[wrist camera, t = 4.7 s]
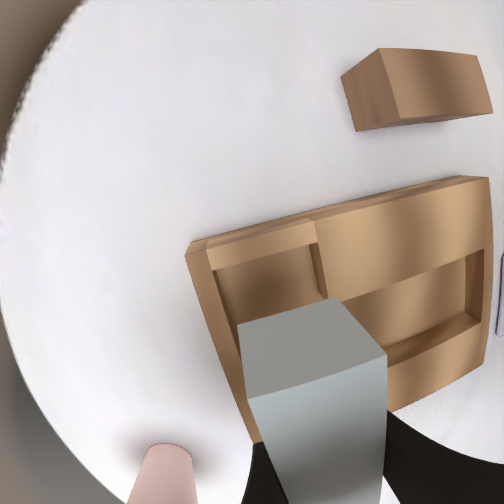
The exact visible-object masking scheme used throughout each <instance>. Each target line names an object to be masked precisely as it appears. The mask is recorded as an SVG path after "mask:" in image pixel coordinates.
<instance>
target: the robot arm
mask: <svg viewBox="0 0 504 504" xmlns="http://www.w3.org/2000/svg"><path fill="white" fill-rule="evenodd" d="M503 335H504V257H503V266H502V287H501V300H500V310H499V319H498V326H497V336H499V337H501V336H503ZM383 476H384V477H385V479H386V481H387V482H388V484H389V485H390V487H391V489H392V490H393V492H394V494H395V495H396V497H397V498H398V500H399V502H400V504H504V464H498V463H492V462H488V461H484V460H480V459H477V458H473V457H470V456H467V455H464V454H461V453H459V452H456V451H454V450H451V449H449V448H447V447H445V446H443V445H441V444H439V443H437V442H435V441H433V440H431V439H429V438H428V437H426V436H424V435H423V434H421V433H419V432H418V431H416V430H415V429H413V428H412V427H410V426H409V425H407V424H406V423H404V422H403V421H402V420H400V419H399V418H397V417H396V416H395V415H394V414H392V413H391V412H390V411H388V410H387V424H386V442H385V456H384V467H383ZM241 504H289V502H288V499H287V497H286V495H285V493H284V490H283V488H282V486H281V483H280V481H279V478H278V476H277V474H276V471H275V469H274V466H273V464H272V462H271V459H270V457H269V454H268V452H267V449H266V447H265V444H264V442H263V441H262V442H258V443H255V444H254V445H253V452H252V461H251V468H250V473H249V477H248V482H247V486H246V490H245V493H244V496H243V499H242V503H241Z"/></svg>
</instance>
